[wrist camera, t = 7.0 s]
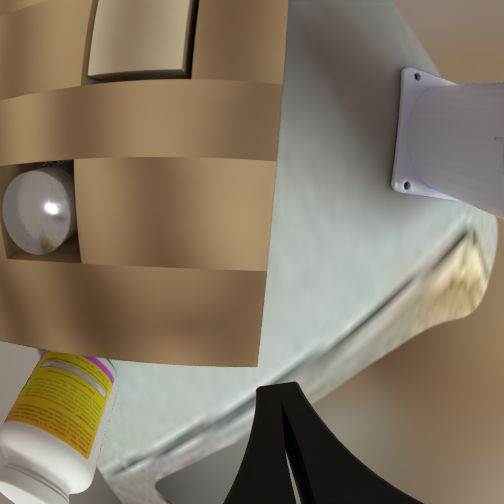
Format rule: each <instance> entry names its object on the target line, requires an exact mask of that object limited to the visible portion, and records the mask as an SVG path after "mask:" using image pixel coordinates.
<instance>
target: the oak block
mask: <svg viewBox="0 0 504 504" xmlns="http://www.w3.org/2000/svg"><path fill="white" fill-rule="evenodd" d="M98 1H99V0H0V341H4V342H9V343H14V344H18V345H23V346H28V347H34V348H39V349H44V350H50V351H56V352H62V353H69V354H75V355H82V356H90V357H97V358H106V359H114V360H124V361H134V362H145V363H157V364H172V365H190V366H218V367H257V365H258V355H259V346H260V336H261V327H262V317H263V307H264V297H265V287H266V277H267V266H268V256H269V245H270V234H271V224H272V212H273V201H274V190H275V178H276V166H277V154H278V142H279V129H280V117H281V104H282V90H283V76H284V62H285V48H286V33H287V17H288V1H289V0H195V2H196V6H197V11H198V18H197V26H196V36H195V45H194V56H193V67H192V79H162V80H138V81H123V82H111V83H108V82H106V81H103V80H100V79H97V78H94V77H91V76H88V69H89V60H90V51H91V43H92V36H93V30H94V23H95V17H96V12H97V6H98ZM71 159H74V179H75V200H76V214H77V226H78V231H77V232H76V233H74V234H73V235H72V236H71V237H69V238H68V239H67V240H66V241H64V242H63V243H62V244H61V245H60V246H58V247H57V248H56V249H55V250H53V251H52V252H50V253H48V254H44V255H35V254H31V253H28V252H26V251H24V250H23V249H21V248H20V247H19V246H18V245H17V244H16V243H15V242H14V241H13V240H12V238H11V237H10V235H9V233H8V231H7V229H6V226H5V223H4V219H3V210H2V208H3V199H4V195H5V192H6V189H7V187H8V186H9V184H10V183H11V182H12V180H13V179H14V178H16V177H17V176H18V175H20V174H22V173H25V172H28V171H32V170H35V169H38V168H42V167H43V161H56V160H71Z"/></svg>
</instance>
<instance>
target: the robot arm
mask: <svg viewBox="0 0 504 504" xmlns="http://www.w3.org/2000/svg"><path fill="white" fill-rule="evenodd" d="M415 74H416V75H417V77H418V80H416V79H415V77H414V75H415ZM405 182H407V183H408V185H407V187H406V188H404V183H405ZM391 186H392V188H393V190H394V191H397V192H400V193H407V194H414V195H421V196H427V197H434V198H440V199H446V200H452V201H458V202H464V203H467V204H470V205H472V206H474V207H477V208H479V209H481V210H484V211H486V212H488V213H490V214H492V215H495V216H497V217H499V218H501V219H503V220H504V82H491V83H472V84H455V83H453V82H450V81H447V80H445V79H443V78H440V77H437V76H434V75H432V74H429V73H426V72H423V71H420V70H417V69H414V68H411V67H407V68H404V69H403V70H402V73H401V94H400V109H399V121H398V132H397V142H396V151H395V159H394V167H393V175H392V182H391ZM285 450H286V451H285ZM286 453H287V457H288V460H289V463H290V467H291V470H292V473H293V477H294V480H295V483H296V486H297V490H298V493H299V497H300V501H301V504H424V503H422V502H420V501H418V500H416V499H414V498H412V497H411V496H409V495H407V494H405V493H404V492H402V491H400V490H398V489H397V488H395V487H394V486H393V485H391V484H390V483H388V482H387V481H385V480H384V479H382V478H381V477H379V476H378V475H377V474H375V473H374V472H373V471H372V470H370V469H369V468H368V467H367V466H365V465H364V464H363V463H362V462H361V461H360V460H359V459H357V458H356V457H355V456H354V455H353V454H352V453H351V452H350V451H349V450H348V449H347V448H346V447H345V446H344V445H343V444H342V443H341V442H340V441H339V440H338V439H337V438H336V436H335V435H334V434H333V433H332V432H331V431H330V430H329V429H328V427H327V426H326V425H325V423H324V422H323V421H322V420H321V418H320V417H319V416H318V414H317V413H316V412H315V410H314V409H313V407H312V406H311V404H310V403H309V401H308V400H307V398H306V397H305V395H304V393H303V392H302V390H301V388H300V386H299V384H298V383H297V382H295V381H294V382H288V383H281V384H275V385H268V386H260V387H258V388H257V389H256V409H255V415H254V421H253V425H252V430H251V434H250V438H249V442H248V445H247V448H246V452H245V455H244V458H243V461H242V463H241V466H240V469H239V471H238V474H237V476H236V478H235V481H234V483H233V485H232V487H231V489H230V491H229V493H228V495H227V497H226V499H225V501H224V503H223V504H296V500H295V496H294V491H293V487H292V482H291V478H290V473H289V468H288V464H287V459H286Z"/></svg>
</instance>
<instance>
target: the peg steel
mask: <svg viewBox="0 0 504 504" xmlns="http://www.w3.org/2000/svg"><path fill="white" fill-rule="evenodd" d="M2 210H3V219H4V223H5V226H6V229H7V231H8V233H9V235H10V237H11V238H12V240H13V241H14V242H15V243H16V244H17V245H18V246H19V247H20V248H21V249H23V250H24V251H26V252H28V253H31V254H35V255H44V254H48V253H50V252H52V251H53V250H55V249H56V248H57V247H58V246H60V245H61V244H62V243H63V242H64V241H66V240H67V239H68V238H69V237H71V236H72V235H73V234H74V233H76V232H77V231H78V226H77V214H76V200H75V179H74V160H73V159H72V160H67V161H63V162H59V163H56V164H52V165H49V166H45V167H42V168H38V169H35V170H32V171H28V172H25V173H22V174H20V175H18V176H17V177H16V178H14V179H13V180H12V182H11V183H10V184H9V186H8V187H7V189H6V192H5V195H4V199H3V208H2Z"/></svg>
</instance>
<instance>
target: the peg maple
mask: <svg viewBox="0 0 504 504" xmlns="http://www.w3.org/2000/svg"><path fill="white" fill-rule="evenodd" d="M197 18H198V11H197V6H196V2H195V0H99V1H98V6H97V12H96V17H95V23H94V30H93V36H92V43H91V51H90V60H89V69H88V76H91V77H94V78H97V79H100V80H103V81H106V82H108V83H111V82H123V81H138V80H162V79H192V67H193V56H194V45H195V36H196V26H197Z"/></svg>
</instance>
